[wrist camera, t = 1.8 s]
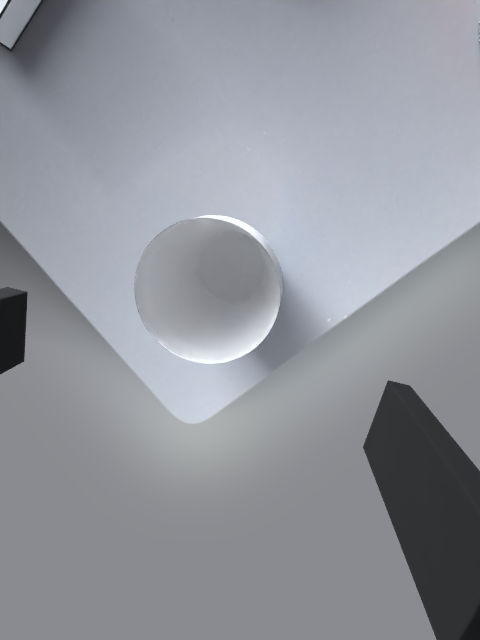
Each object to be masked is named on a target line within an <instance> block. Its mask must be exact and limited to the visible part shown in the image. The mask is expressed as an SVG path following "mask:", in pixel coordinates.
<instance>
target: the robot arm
mask: <svg viewBox="0 0 480 640" xmlns="http://www.w3.org/2000/svg"><path fill="white" fill-rule="evenodd" d="M26 311H27V292H25V291H21V290H17V289H13V288H9V287H6V288H2V289H0V374H2V373H3V372H5V371H7V370H9V369H11V368H13V367H15V366H16V365H18V364H20V363H22V362H24V353H25V332H26ZM363 448H364V451H365V453H366V456H367V459H368V461H369V464H370V467H371V469H372V472H373V474H374V477H375V480H376V482H377V485H378V487H379V490H380V492H381V495H382V498H383V501H384V503H385V506H386V508H387V511H388V514H389V516H390V518H391V521H392V524H393V527H394V529H395V532H396V534H397V537H398V539H399V542H400V544H401V548H402V550H403V553H404V555H405V558H406V561H407V563H408V566H409V569H410V571H411V573H412V576H413V579H414V582H415V584H416V587H417V589H418V592H419V595H420V597H421V600H422V602H423V605H424V608H425V610H426V613H427V616H428V618H429V621H430V623H431V626H432V629H433V631H434V634H435V636H436V639H437V640H480V471H479V470H478V469H477V467H476V466H475V465H474V464H473V462H472V461H471V460H470V459H469V458H468V456H467V455H466V454H465V453H464V451H463V450H462V449H461V448H460V447H459V445H458V444H457V443H456V442H455V440H454V439H453V438H452V437H451V436H450V434H449V433H448V432H447V431H446V429H445V428H444V427H443V426H442V424H441V423H440V422H439V421H438V419H437V418H436V417H435V416H434V415H433V413H432V412H431V411H430V410H429V408H428V407H427V406H426V405H425V404H424V402H423V401H422V400H421V399H420V398H419V396H418V395H417V394H416V392H415V391H414V390H413V389H412V388H411V387H410V386H409V385H405V384H400V383H397V382H393V381H388V382H387V385H386V387H385V390H384V393H383V395H382V398H381V401H380V403H379V406H378V409H377V411H376V414H375V417H374V419H373V422H372V425H371V427H370V430H369V433H368V435H367V438H366V440H365V443H364V446H363Z"/></svg>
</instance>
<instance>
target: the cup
mask: <svg viewBox="0 0 480 640" xmlns="http://www.w3.org/2000/svg"><path fill="white" fill-rule="evenodd" d="M134 292H135V300H136V305H137V308H138V312H139V314H140V317H141V319H142V321H143V323H144V325H145V326H146V328H147V330H148V331H149V332H150V334H151V335H152V336H153V337H154V338H155V339H156V341H157V342H159V343H160V344H161V345H162V346H163V347H164V348H166V349H167V350H168V351H170V352H172V353H173V354H175V355H177V356H179V357H181V358H184V359H187V360H190V361H194V362H198V363H210V364H213V363H223V362H228V361H231V360H234V359H237V358H239V357H241V356H244V355H245V354H247V353H249V352H250V351H252V350H253V349H254V348H256V347H257V346H258V345H259V344H260V343H261V342H262V341H263V340H264V338H265V337H266V336H267V334H268V333H269V332H270V330H271V328H272V326H273V324H274V322H275V320H276V317H277V314H278V310H279V307H280V304H281V299H282V293H283V277H282V271H281V267H280V264H279V261H278V259H277V256H276V254H275V252H274V250H273V249H272V247H271V246H270V244H269V243H268V242H267V241H266V239H265V238H264V237H263V236H262V235H261V234H260V233H259V232H257V231H256V230H255V229H254V228H252V227H251V226H249V225H247V224H245V223H244V222H242V221H239V220H237V219H234V218H230V217H226V216H218V215H207V216H200V217H196V218H193V219H189V220H184V221H181V222H179V223H176V224H174V225H172V226H170V227H168V228H167V229H165V230H163V231H162V232H161V233H160V234H158V235H157V236H156V237H155V238H154V239H153V240H152V241H151V242H150V244H149V245H148V246H147V248H146V249H145V251H144V253H143V254H142V256H141V258H140V261H139V263H138V267H137V270H136V275H135V283H134Z"/></svg>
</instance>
